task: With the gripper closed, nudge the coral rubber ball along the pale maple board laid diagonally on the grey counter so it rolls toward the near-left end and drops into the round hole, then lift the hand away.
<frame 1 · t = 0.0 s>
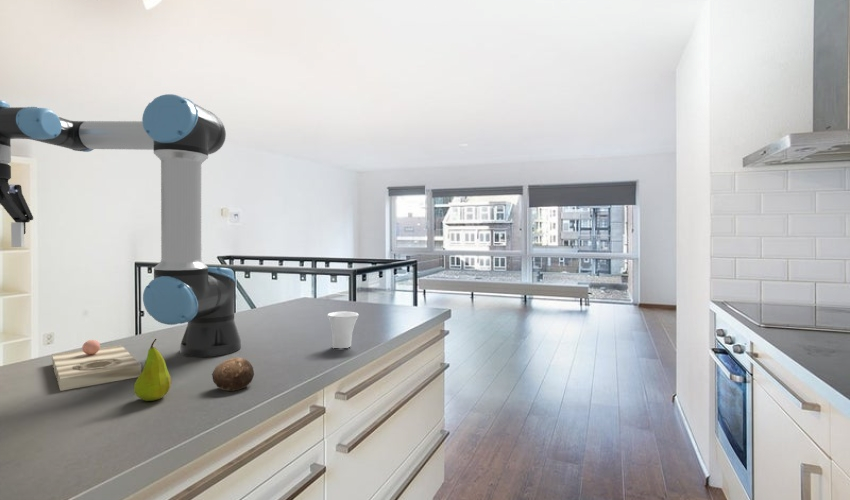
cup: (342, 348, 127), on the worktop
fruit: (153, 400, 85), on the worktop
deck: (94, 370, 102), on the worktop
brown potato: (233, 388, 93), on the worktop
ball: (91, 347, 106), point 4 cm above the worktop, touching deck
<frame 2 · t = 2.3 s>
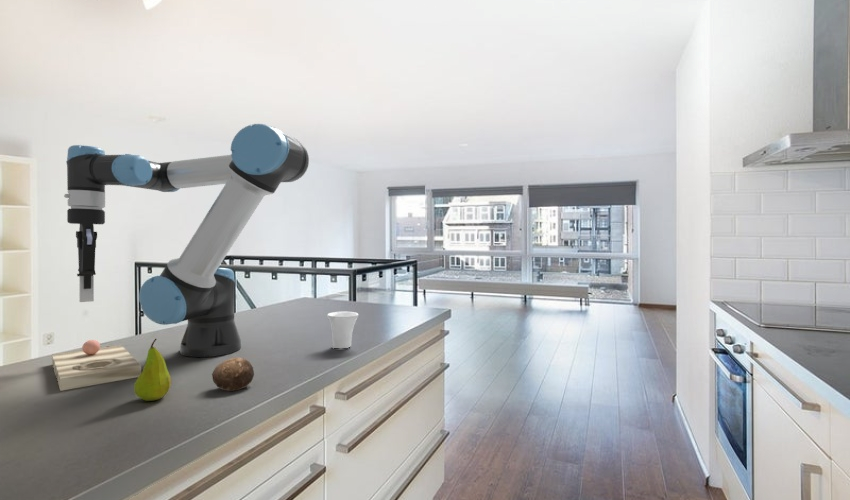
hand: (86, 301, 111), 15 cm above the worktop, fingers closed
nothing on the worktop moved.
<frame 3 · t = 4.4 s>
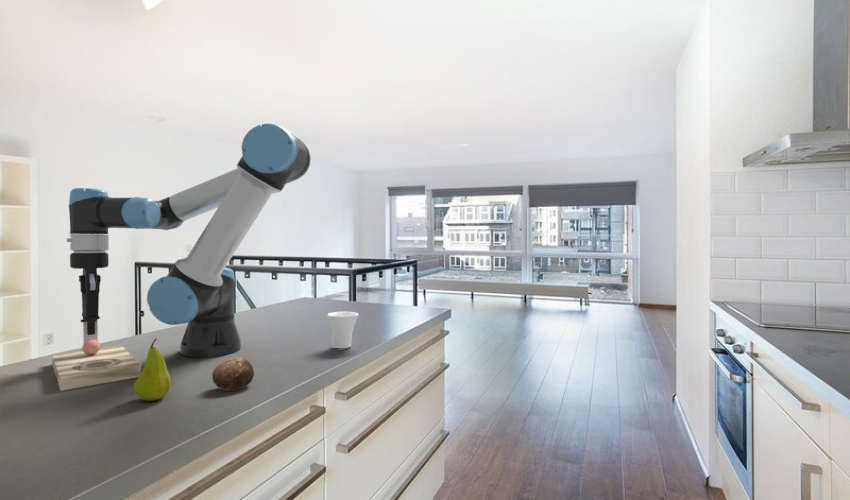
hand: (90, 346, 108), 4 cm above the worktop, fingers closed
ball: (91, 347, 106), point 4 cm above the worktop, touching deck, gripper
everything else where it was.
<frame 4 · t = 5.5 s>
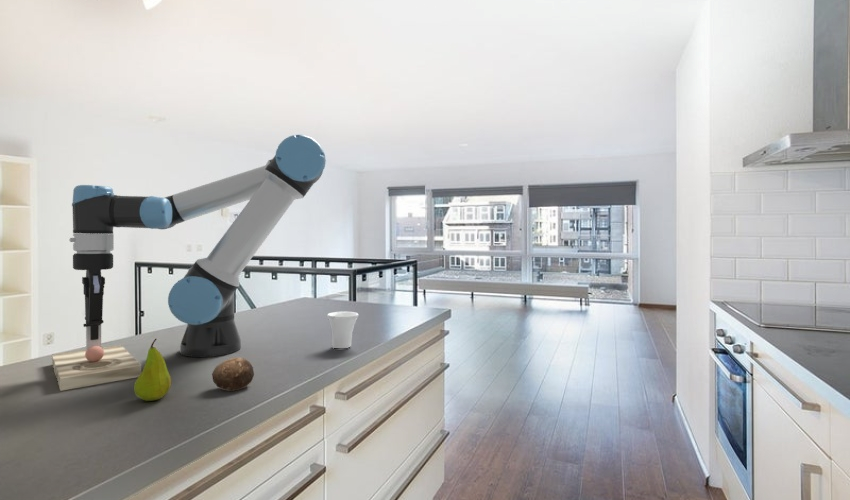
hand: (93, 352, 102), 4 cm above the worktop, fingers closed
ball: (94, 353, 101), point 4 cm above the worktop, tilted 141°, touching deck, gripper
everything else where it was.
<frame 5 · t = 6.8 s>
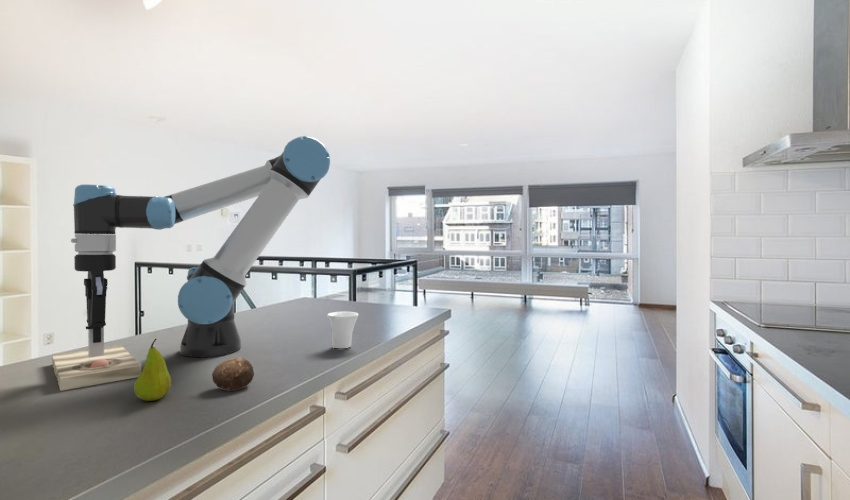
hand: (96, 355, 100), 4 cm above the worktop, fingers closed
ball: (100, 366, 99), point 2 cm above the worktop, tilted 40°
everything else where it was.
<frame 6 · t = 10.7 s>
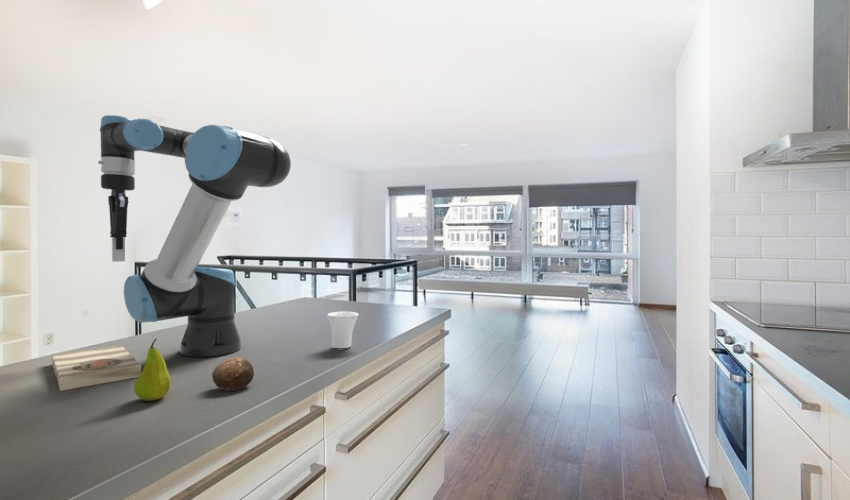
hand: (118, 261, 120), 24 cm above the worktop, fingers closed
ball: (99, 367, 99), point 2 cm above the worktop, tilted 30°
everything else where it was.
at the end: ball 0.4 cm from the target spot, point 1.7 cm above the worktop; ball touching worktop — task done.
